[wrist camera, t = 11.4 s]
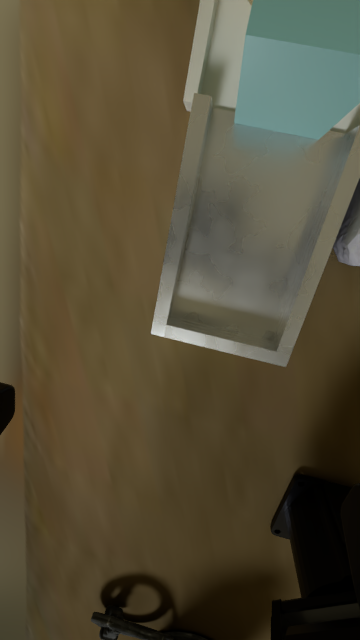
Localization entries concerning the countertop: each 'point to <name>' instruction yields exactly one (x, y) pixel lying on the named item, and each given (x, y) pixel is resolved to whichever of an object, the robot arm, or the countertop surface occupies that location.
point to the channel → (251, 233)
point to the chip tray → (227, 57)
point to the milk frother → (132, 628)
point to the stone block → (350, 233)
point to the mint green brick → (300, 66)
